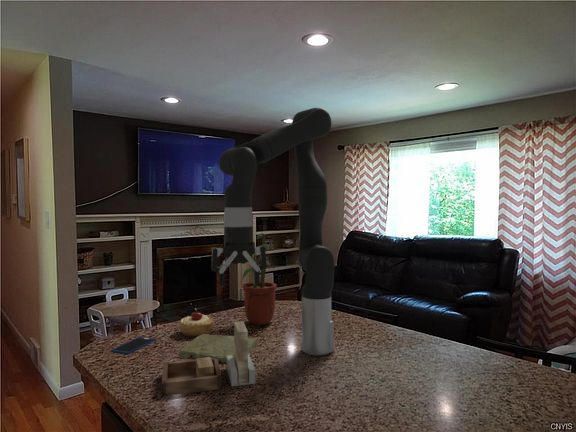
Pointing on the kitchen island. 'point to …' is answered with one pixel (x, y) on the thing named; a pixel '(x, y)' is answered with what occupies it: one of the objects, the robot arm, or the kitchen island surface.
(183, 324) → the pastry
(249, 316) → the potted plant
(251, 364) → the slot stand
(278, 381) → the kitchen island surface
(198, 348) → the decorative tile
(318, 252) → the robot arm
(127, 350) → the cell phone
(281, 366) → the kitchen island surface
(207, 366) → the oak offcut upper
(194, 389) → the wooden tray
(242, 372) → the birch sheet
